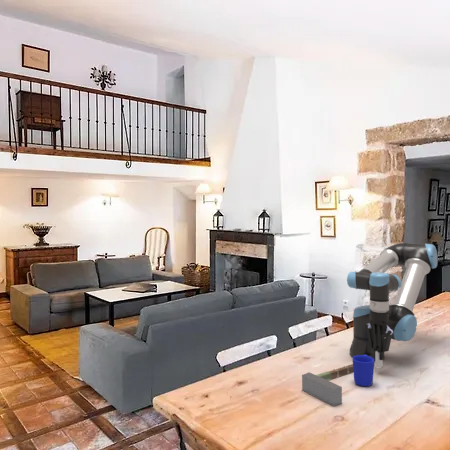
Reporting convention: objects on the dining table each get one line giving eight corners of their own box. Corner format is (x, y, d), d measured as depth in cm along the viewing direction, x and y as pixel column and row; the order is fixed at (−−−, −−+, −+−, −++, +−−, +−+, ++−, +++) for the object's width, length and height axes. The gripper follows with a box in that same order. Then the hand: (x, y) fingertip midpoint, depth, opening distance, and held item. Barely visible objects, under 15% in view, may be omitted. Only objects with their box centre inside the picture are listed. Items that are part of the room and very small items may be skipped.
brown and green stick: (305, 384, 167) (305, 377, 167) (356, 368, 183) (356, 362, 183) (309, 386, 165) (309, 379, 165) (361, 369, 182) (361, 363, 181)
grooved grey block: (302, 390, 162) (302, 374, 162) (311, 387, 165) (310, 372, 164) (333, 406, 149) (333, 389, 149) (343, 403, 151) (342, 386, 151)
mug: (376, 377, 173) (376, 353, 173) (373, 389, 162) (373, 363, 162) (355, 374, 176) (355, 350, 176) (350, 386, 166) (350, 360, 165)
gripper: (360, 308, 180) (360, 364, 181) (386, 314, 169) (386, 373, 170) (372, 306, 184) (371, 360, 185) (398, 312, 173) (398, 369, 174)
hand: (378, 366), depth 177 cm, fingers closed
